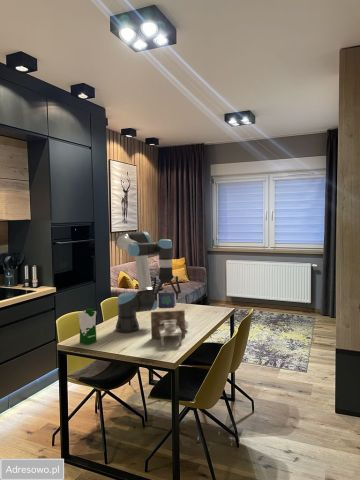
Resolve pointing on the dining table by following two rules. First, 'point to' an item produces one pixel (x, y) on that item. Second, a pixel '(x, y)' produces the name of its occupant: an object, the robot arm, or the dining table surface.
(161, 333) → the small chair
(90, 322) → the milk carton
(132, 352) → the dining table surface
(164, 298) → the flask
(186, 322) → the pretzel
